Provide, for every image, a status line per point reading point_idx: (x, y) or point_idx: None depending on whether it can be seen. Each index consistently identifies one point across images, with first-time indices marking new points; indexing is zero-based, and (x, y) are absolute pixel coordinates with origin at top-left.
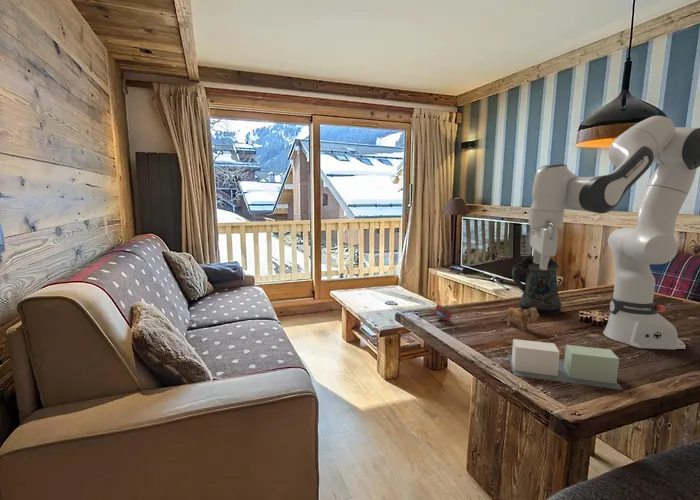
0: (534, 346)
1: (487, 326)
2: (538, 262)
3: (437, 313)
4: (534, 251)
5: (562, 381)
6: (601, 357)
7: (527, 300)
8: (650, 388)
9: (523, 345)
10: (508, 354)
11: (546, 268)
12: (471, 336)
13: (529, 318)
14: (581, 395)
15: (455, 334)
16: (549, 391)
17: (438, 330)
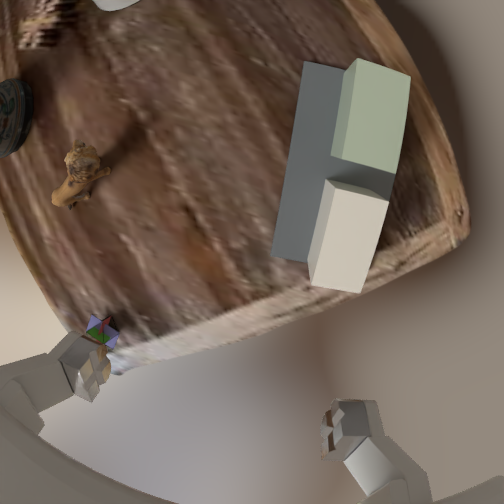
0: (357, 250)
1: (107, 246)
2: (102, 359)
3: (113, 345)
4: (43, 424)
5: (391, 190)
6: (406, 111)
7: (4, 146)
8: (377, 31)
9: (350, 274)
10: (272, 254)
11: (375, 407)
12: (172, 294)
13: (95, 165)
14: (419, 173)
15: (171, 320)
16: (408, 224)
17: (161, 342)
